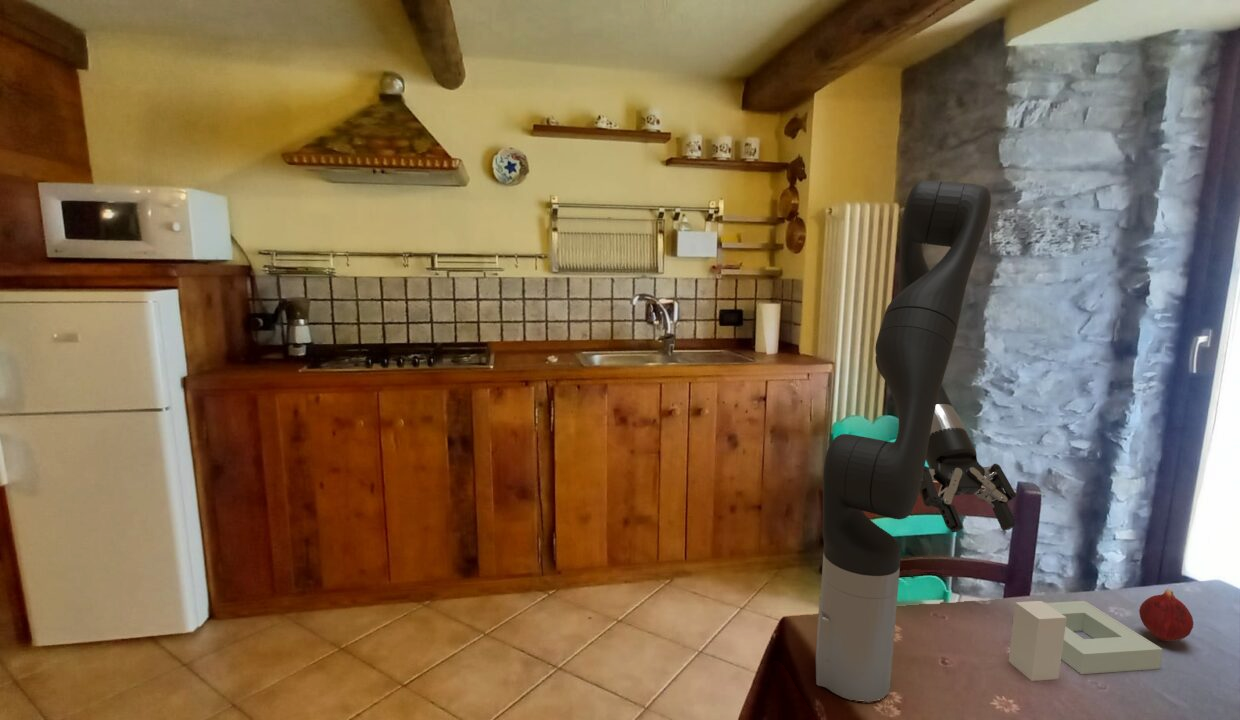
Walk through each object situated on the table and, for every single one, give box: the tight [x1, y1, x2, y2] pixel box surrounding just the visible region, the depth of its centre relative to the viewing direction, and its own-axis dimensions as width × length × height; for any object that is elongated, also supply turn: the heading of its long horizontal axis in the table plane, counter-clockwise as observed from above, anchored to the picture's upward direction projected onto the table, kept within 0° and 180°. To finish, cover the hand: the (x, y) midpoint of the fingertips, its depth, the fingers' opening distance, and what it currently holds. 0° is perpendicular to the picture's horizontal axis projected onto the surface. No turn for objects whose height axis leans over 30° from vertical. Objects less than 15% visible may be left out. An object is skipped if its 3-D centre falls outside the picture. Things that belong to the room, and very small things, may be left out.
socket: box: [1013, 600, 1164, 675], centre depth 85 cm, size 12×12×3 cm
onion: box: [1138, 588, 1194, 642], centre depth 86 cm, size 6×6×8 cm
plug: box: [1008, 600, 1067, 682], centre depth 79 cm, size 4×4×9 cm
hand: (983, 529), depth 89 cm, fingers open, 8 cm apart
